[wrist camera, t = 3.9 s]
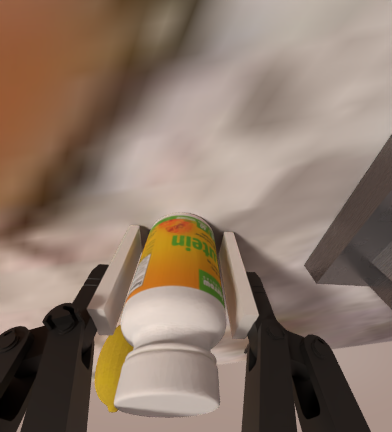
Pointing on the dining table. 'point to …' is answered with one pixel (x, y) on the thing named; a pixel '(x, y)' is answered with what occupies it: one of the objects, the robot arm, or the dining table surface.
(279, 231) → the dining table surface
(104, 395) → the lemon
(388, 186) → the grey frame
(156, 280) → the supplement bottle
